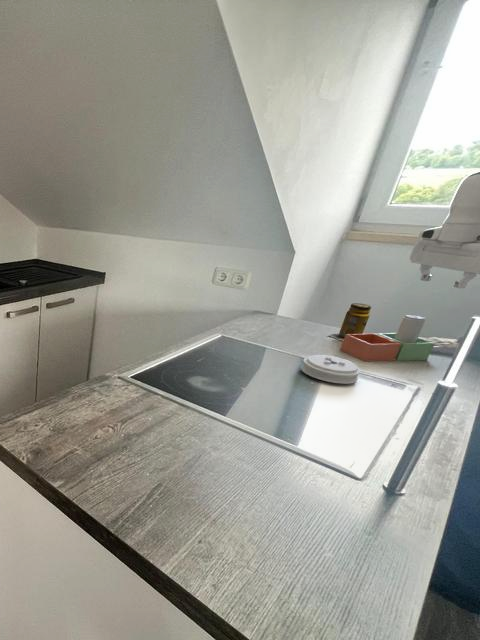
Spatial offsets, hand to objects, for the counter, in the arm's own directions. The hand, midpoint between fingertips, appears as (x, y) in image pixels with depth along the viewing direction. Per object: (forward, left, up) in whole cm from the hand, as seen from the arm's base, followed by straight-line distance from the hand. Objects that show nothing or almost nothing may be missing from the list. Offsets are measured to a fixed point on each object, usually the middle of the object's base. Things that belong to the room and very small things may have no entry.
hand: (441, 284), depth 112 cm
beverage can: (+1, -2, -23) cm, 23 cm away
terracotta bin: (+12, -2, -23) cm, 26 cm away
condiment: (+6, -17, -23) cm, 29 cm away
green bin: (+2, -2, -23) cm, 23 cm away
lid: (+35, +12, -23) cm, 43 cm away
